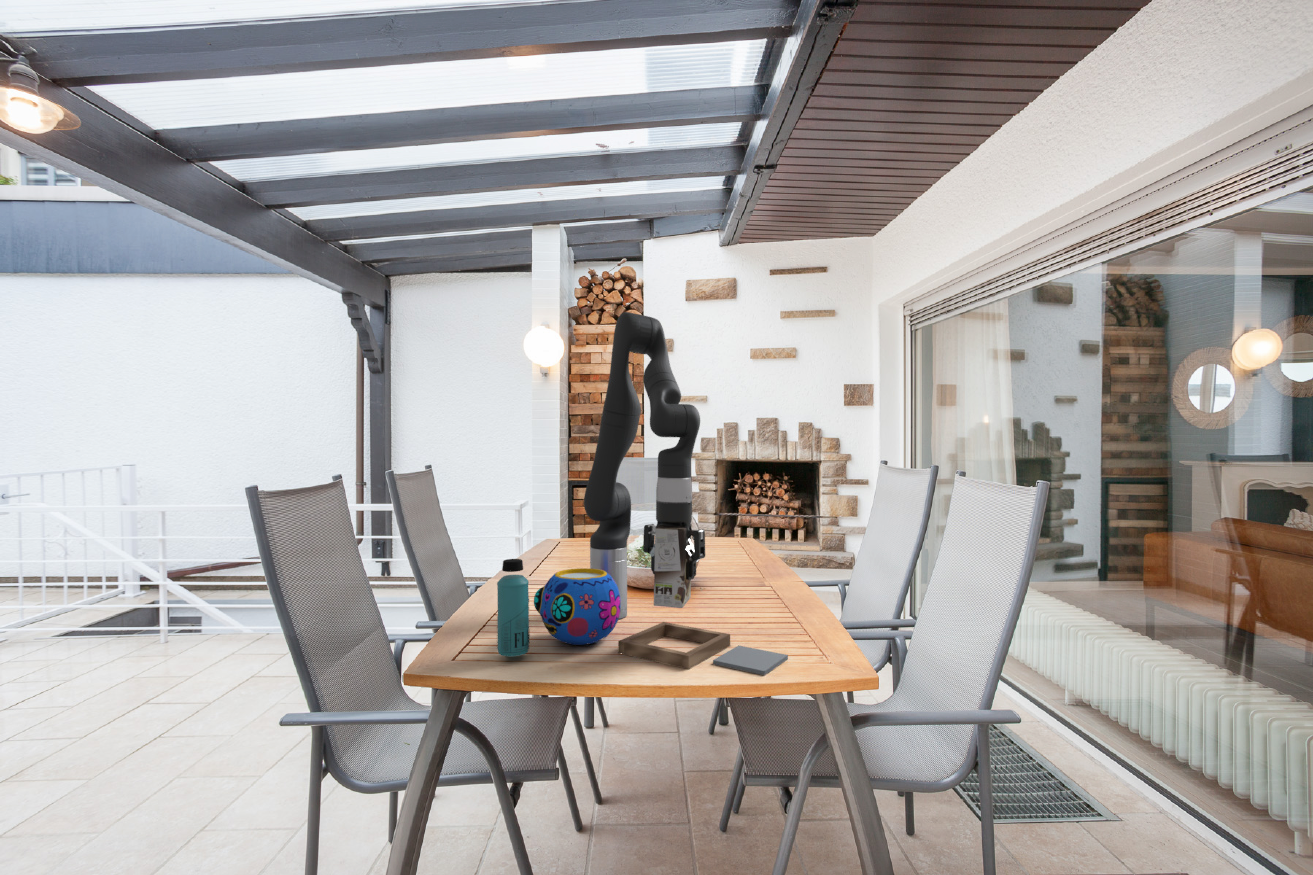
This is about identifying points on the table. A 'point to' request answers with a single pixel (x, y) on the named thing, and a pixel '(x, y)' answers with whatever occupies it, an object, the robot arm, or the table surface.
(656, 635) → the board
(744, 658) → the slate mat
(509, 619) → the beverage bottle
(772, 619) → the table surface
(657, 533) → the coffee box
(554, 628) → the ceramic pot
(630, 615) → the table surface
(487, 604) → the table surface
